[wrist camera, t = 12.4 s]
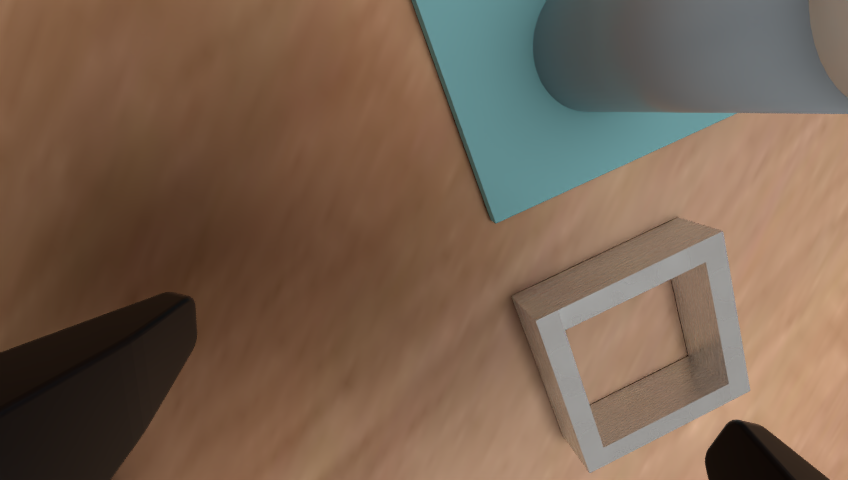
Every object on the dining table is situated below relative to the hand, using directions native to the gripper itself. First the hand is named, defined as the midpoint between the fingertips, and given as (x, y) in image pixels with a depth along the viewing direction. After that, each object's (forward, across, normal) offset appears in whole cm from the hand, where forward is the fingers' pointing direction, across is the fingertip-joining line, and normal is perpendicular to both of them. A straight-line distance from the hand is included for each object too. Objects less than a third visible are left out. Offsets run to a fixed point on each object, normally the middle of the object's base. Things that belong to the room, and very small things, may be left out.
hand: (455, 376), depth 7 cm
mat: (+14, -4, -5) cm, 15 cm away
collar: (+13, -9, +7) cm, 17 cm away
